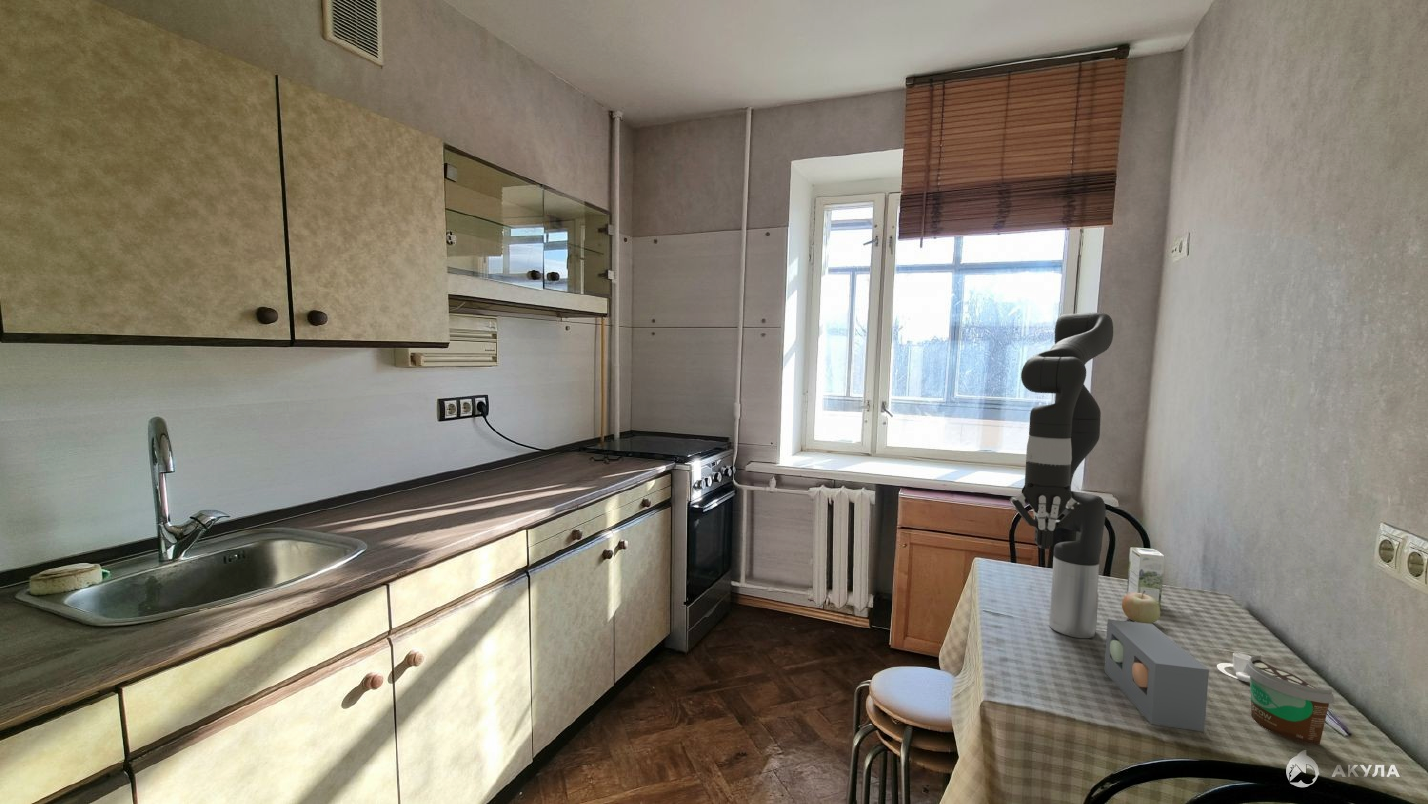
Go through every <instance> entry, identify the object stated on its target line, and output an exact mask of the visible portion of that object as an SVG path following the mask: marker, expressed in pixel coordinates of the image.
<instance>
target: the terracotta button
mask: <svg viewBox="0 0 1428 804" xmlns="http://www.w3.org/2000/svg"><path fill="white" fill-rule="evenodd" d="M1148 671H1149V668H1148V667H1147V666H1145V665H1144V664H1143V663H1134V664H1133V666H1132V675H1133V679H1134V681H1135V683H1136V685H1137V686H1139V687H1147V685H1148Z"/></svg>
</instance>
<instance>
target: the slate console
mask: <svg viewBox="0 0 1428 804" xmlns="http://www.w3.org/2000/svg"><path fill="white" fill-rule="evenodd" d="M1106 624H1107V625H1106V636H1105V637H1106V638H1105V639H1106V640H1105V654H1104V656H1105V657H1104V668H1103V669H1104V670H1103V671H1104V672H1105V674H1106V675H1107V677H1109V678H1110V679H1111V681H1112V682H1113V683H1114V684H1115V685H1116V686H1117V688H1118V689H1120V691H1121V692H1122V694H1124V695H1125V697H1127V699H1128V700H1129V701H1130V702H1131V704H1133V706H1135V708H1137V710H1138V711H1139V713H1141V714H1142V716H1143V717H1144V718H1145V719H1146V720H1147V722H1148V723H1150V725H1153V726H1154V725H1155V726H1162V727H1169V728H1177V729H1183V730H1190V731H1197V732H1205V726H1206V716H1207V714H1206V713H1207V702H1208V690H1209V689H1208V688H1209V675H1210V669H1209V668H1208V667H1207V666H1206V665H1204V664H1203V663H1201V662H1200V661H1199V660H1197V658H1195V657H1194V656H1193V655H1192V654H1190V653H1189V652H1188V651H1186V649H1184V648H1183V647H1181V646H1180V645H1179V644H1178V643H1176V642H1175V641H1174V640H1173V639H1172V638H1171V637H1169V636H1168V635H1167V634H1165V633H1164V632H1163V631H1162V630H1160V629H1159V628H1158V627H1157V626H1156V625H1154V623H1152V624H1148V623H1138V622H1135V621H1125V620H1118V619H1111V618H1110V619H1107V623H1106ZM1112 640H1117V641H1120V642H1121V643H1122V644H1124V649H1123V663H1121V662H1115V661H1114V660H1113V659H1112V656H1111V653H1110V643H1111V641H1112ZM1134 663H1143V664H1144V665H1145V666H1147V667H1148V668H1149V671H1148V685H1147V687H1139V686H1137V685H1136V683H1135V681H1134V679H1133V675H1132V666H1133V664H1134Z"/></svg>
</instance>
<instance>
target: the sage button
mask: <svg viewBox="0 0 1428 804" xmlns="http://www.w3.org/2000/svg"><path fill="white" fill-rule="evenodd" d="M1123 649H1124V644H1122V643H1121V642H1120V641H1117V640H1112V641H1111V643H1110V653H1111V656H1112V659H1113V660H1114V661H1115V662H1121V663H1123Z"/></svg>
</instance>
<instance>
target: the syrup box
mask: <svg viewBox="0 0 1428 804" xmlns="http://www.w3.org/2000/svg"><path fill="white" fill-rule="evenodd" d="M1128 559H1129V560H1128V572H1127V584H1126V585H1127V586H1126V595H1127V594H1130V593H1142V594H1143V592H1144V591H1145V593H1144V594H1145V595H1148V596H1150V597H1152V598H1154V599H1155V600H1156V601H1157V603H1158V604H1159V607H1160V608H1161V603H1162V595H1163V594H1162V593H1163V591H1162V590H1163V581H1164V579H1163V578H1164V568H1165V559H1166V558H1165V555H1164V554H1163V553H1161V552H1160V551H1159V550H1157V549H1154V548H1143V547H1132V546H1131V547H1130V548H1129V557H1128Z"/></svg>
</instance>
